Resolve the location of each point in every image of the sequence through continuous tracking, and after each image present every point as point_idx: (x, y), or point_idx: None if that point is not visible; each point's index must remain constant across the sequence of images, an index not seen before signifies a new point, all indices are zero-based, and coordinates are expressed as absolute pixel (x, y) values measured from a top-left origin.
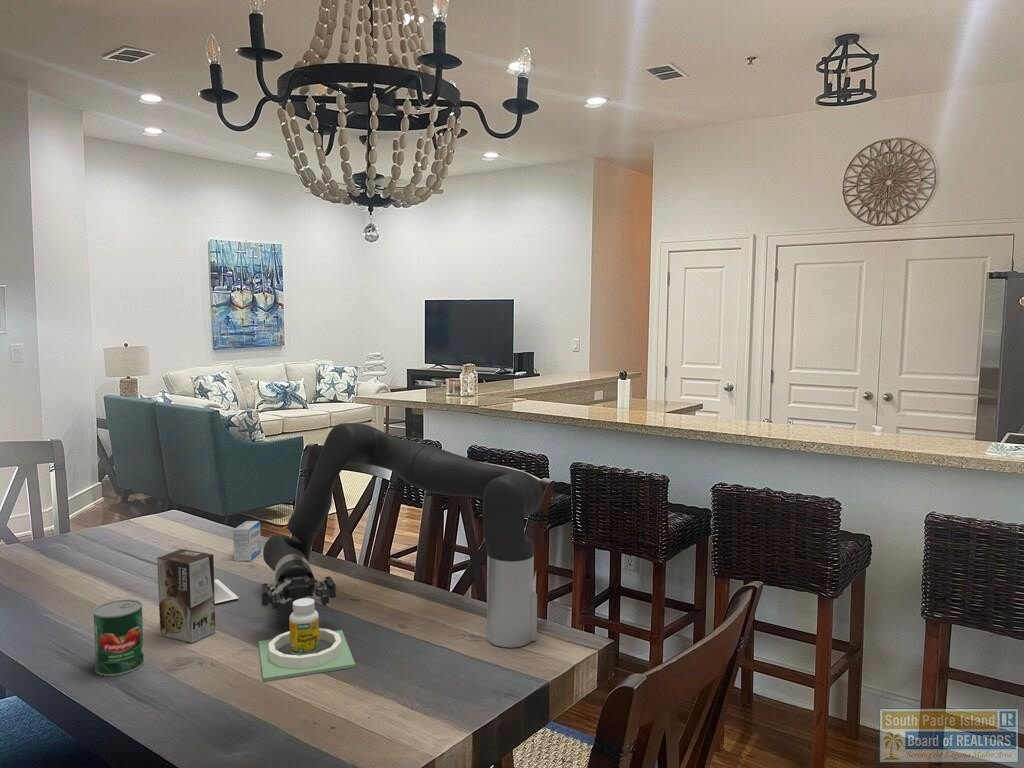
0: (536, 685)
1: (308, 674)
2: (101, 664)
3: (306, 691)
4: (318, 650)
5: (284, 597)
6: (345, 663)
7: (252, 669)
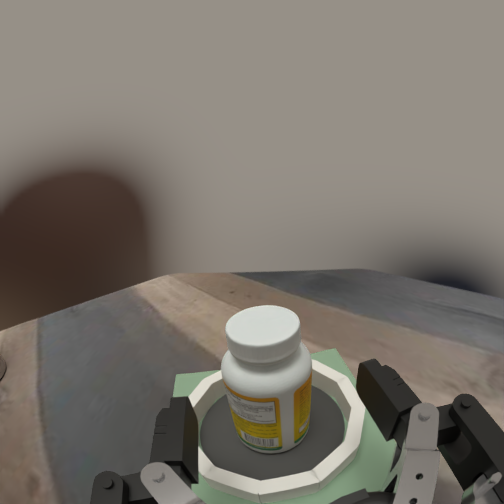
0: (48, 316)
1: None
2: None
3: None
4: None
5: (386, 485)
6: (191, 378)
7: None
